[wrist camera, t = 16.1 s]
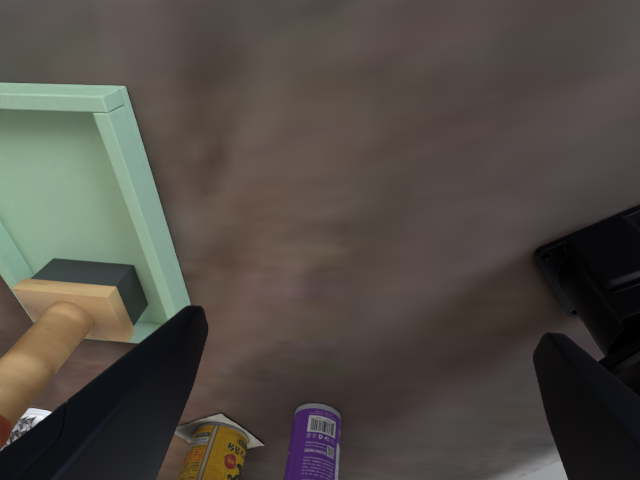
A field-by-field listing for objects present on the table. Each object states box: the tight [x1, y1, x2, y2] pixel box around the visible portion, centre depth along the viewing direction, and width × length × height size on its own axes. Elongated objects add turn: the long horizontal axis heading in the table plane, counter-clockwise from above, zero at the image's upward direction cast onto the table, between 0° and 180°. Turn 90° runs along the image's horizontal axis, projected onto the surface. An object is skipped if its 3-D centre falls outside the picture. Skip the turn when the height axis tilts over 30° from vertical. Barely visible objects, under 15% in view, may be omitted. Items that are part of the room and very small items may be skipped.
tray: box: [0, 83, 191, 343], centre depth 24 cm, size 19×12×2 cm, turn 0°
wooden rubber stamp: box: [0, 258, 148, 450], centre depth 21 cm, size 4×6×13 cm
